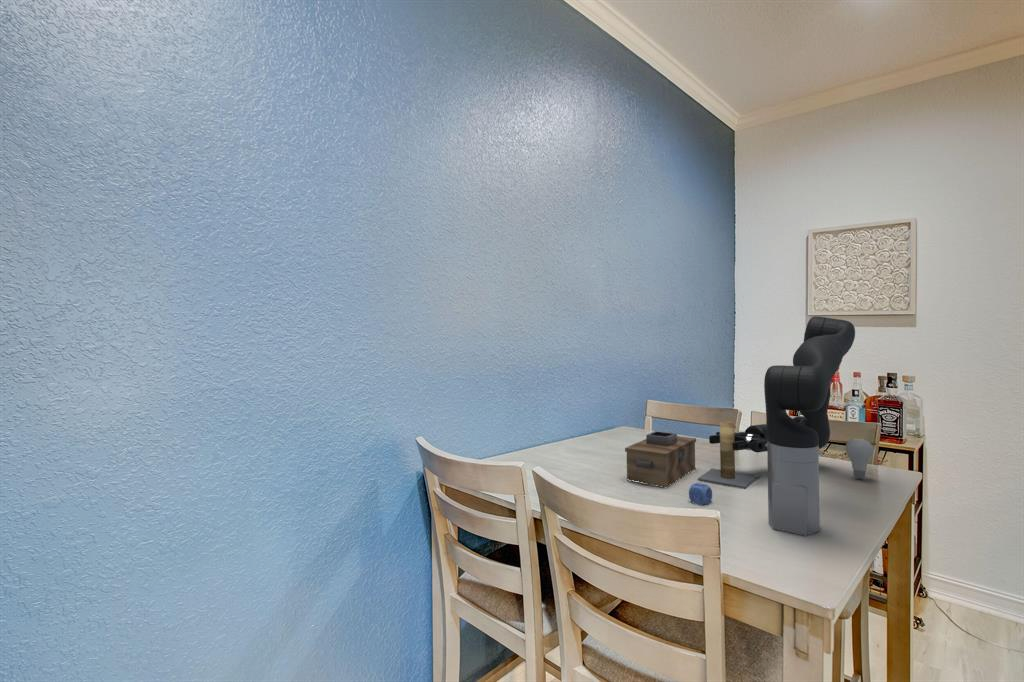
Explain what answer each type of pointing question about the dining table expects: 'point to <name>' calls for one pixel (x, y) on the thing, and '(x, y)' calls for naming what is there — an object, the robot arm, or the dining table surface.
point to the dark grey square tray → (661, 438)
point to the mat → (739, 480)
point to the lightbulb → (859, 455)
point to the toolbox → (660, 461)
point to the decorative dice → (700, 493)
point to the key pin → (727, 450)
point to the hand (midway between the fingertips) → (721, 443)
